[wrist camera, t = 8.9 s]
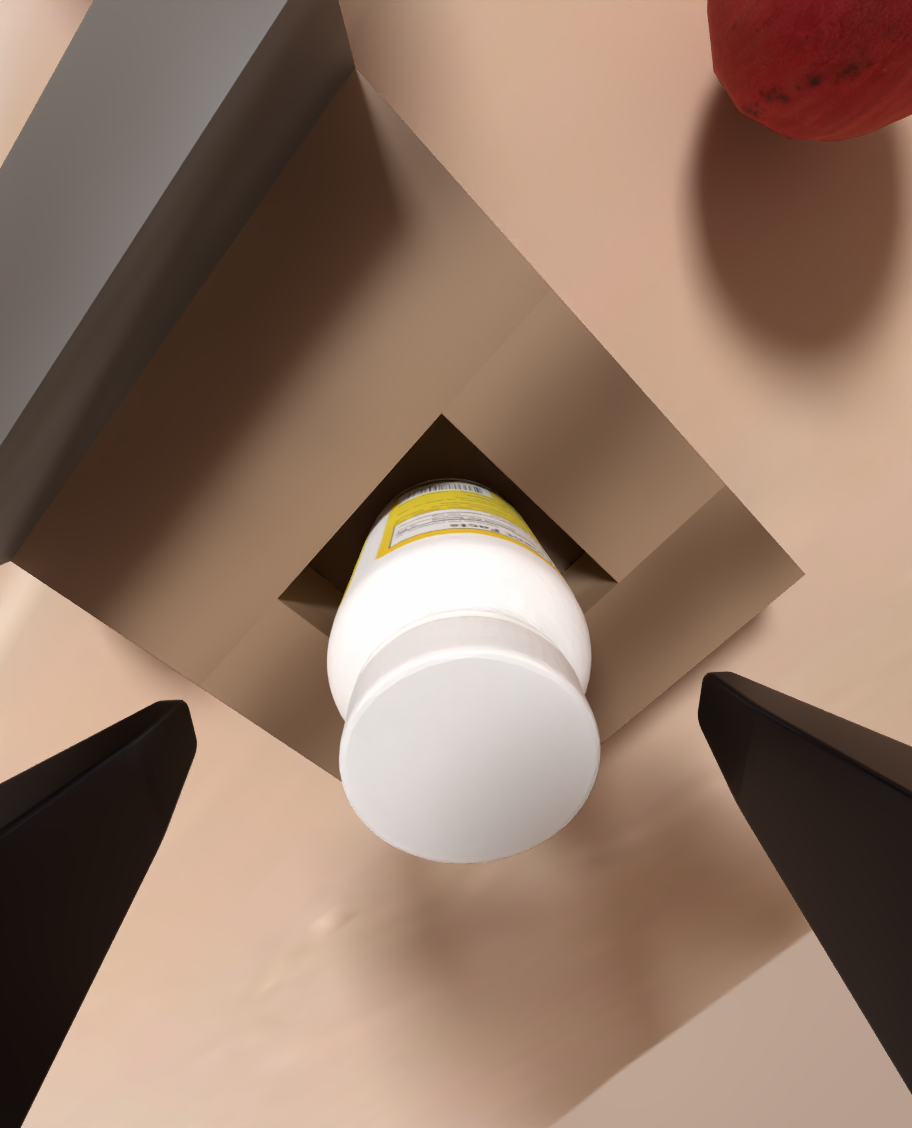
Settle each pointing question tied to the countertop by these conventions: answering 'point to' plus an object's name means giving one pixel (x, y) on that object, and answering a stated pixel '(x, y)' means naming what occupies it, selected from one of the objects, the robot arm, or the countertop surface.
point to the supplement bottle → (461, 680)
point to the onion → (815, 63)
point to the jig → (306, 369)
